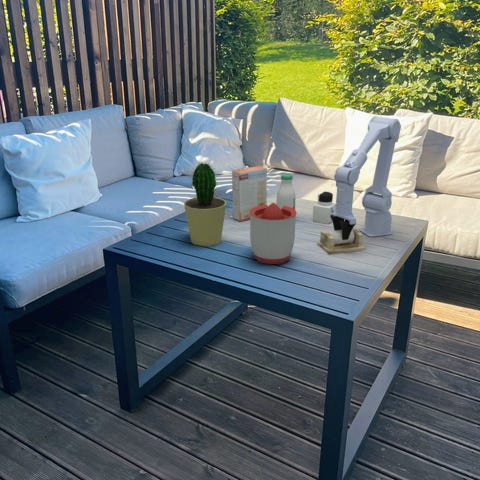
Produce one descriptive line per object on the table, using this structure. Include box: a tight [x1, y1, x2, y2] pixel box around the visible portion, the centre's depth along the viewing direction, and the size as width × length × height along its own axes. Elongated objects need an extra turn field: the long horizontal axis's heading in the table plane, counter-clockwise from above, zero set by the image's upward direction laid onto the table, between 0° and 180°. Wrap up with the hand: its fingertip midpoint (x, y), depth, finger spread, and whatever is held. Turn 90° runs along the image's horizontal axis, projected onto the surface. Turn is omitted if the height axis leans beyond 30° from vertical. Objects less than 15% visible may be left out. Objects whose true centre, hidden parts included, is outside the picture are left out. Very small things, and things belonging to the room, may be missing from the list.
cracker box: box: [231, 165, 268, 222], centre depth 211 cm, size 14×6×21 cm, turn 124°
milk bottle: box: [275, 173, 296, 210], centre depth 205 cm, size 8×8×20 cm
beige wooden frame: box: [316, 227, 366, 255], centre depth 183 cm, size 10×14×6 cm
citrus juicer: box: [249, 202, 297, 265], centre depth 172 cm, size 16×17×20 cm
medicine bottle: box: [312, 191, 336, 225], centre depth 209 cm, size 7×7×12 cm
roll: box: [327, 230, 354, 245], centre depth 183 cm, size 8×5×5 cm, turn 108°
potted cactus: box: [183, 162, 227, 247], centre depth 185 cm, size 15×15×30 cm
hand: (341, 236), depth 183 cm, fingers closed on roll, 5 cm apart
